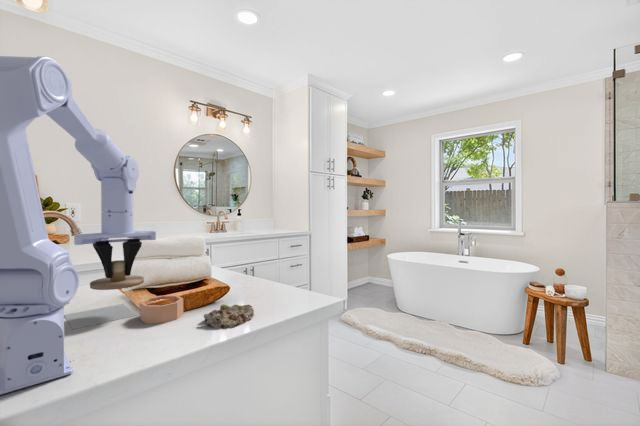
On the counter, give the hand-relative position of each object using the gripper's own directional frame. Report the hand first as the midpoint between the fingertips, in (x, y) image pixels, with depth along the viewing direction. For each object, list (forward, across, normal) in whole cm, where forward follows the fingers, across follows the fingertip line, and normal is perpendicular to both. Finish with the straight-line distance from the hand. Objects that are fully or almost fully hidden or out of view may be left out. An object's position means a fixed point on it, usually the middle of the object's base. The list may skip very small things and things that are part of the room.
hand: (118, 276), depth 67 cm
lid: (+2, 0, 0) cm, 2 cm away
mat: (+9, +3, -3) cm, 10 cm away
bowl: (+9, -6, +7) cm, 13 cm away
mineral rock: (+10, -16, +18) cm, 26 cm away
